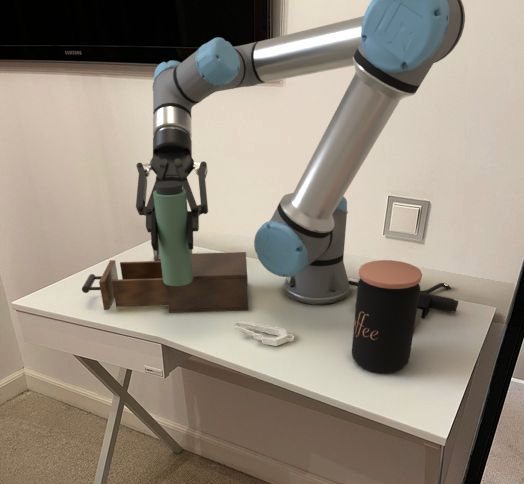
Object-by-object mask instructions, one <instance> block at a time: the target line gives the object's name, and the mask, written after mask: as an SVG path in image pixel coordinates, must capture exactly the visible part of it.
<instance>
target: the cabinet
mask: <svg viewBox="0 0 524 484" xmlns="http://www.w3.org/2000/svg"><path fill="white" fill-rule="evenodd" d="M191 258H192V270H193V281H192V282H191V283H189V284H187V285H183V286H169V285H166V291H167V300H168V306H167V307H168V313H169V314H177V313H211V312H238V311H239V312H241V311H249V289H248V288H249V285H248V282H249V281H248V264H247V252H246V251H242V252H241V251H236V252H235V251H234V252H233V251H232V252H230V251H229V252H199V253H198V252H197V253H195V252H193V253H192V254H191Z"/></svg>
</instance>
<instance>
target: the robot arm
mask: <svg viewBox="0 0 524 484" xmlns="http://www.w3.org/2000/svg"><path fill="white" fill-rule="evenodd" d="M465 23H466V13H465V5H464V4H463V1H462V0H371V1H370V3H369V4H368V6H367V8H366V9H365V12H364V15H362V16H358V17H353V18H350V19H345V20H341V21H338V22H333V23H330V24H326V25H321V26H317V27H313V28H309V29H305V30H301V31H296V32H293V33H289V34H284V35H281V36H276V37H273V38H268V39H264V40H260V41H255V42H251V43H247V44H241V45H236V46H233V45H232V44H231V42H229V41H227V40H225V38H223V37H214V38H213V39H211V40H209V41H208V42H204V44H202V45H201V46H199V47H198V49H197V50H196V51H195V52H193V53H192V54H191V55H189V56H188V57H187V58H186V59H184V60H183V61H182V62H181V61H178V60H169V61H162V62H161V63H159V64H158V65H157V66H156V68H155V70H154V74H153V82H152V84H153V85H152V104H153V105H152V106H153V107H152V113H153V114H152V115H153V116H152V136H153V137H152V158H151V159H150V161H149V162H147V163H144V164H143V163H142V162H137V163H136V165H135V166H136V170H137V172H138V173H137V174H138V177H137V189H136V200H135V201H136V202H135V208H136V211H137V213H138V215H139V216H145V228H146V231H147V233H150V245H151V247H152V251H153V250H158V232H157V223H156V214H155V205H154V197H153V192H154V191H155V190H156V184H157V183H159V182H163V181H179V182H181V183H182V188H183V189H185V190H186V197H187V205H188V206H189V209H190V210H188V246H189V249H192V250H194V232H199V230H200V216H201V215H203V214H204V215H207V214H208V213H209V208H208V207H209V204H208V194H207V183H206V178H207V175H208V164H207V161H201V162H197V161H195V160H194V159H193V148H192V147H193V142H192V141H193V140H192V133H193V132H192V108H193V107H194V106H196V105H198V104H200V103H201V102H202V101H203V100H205V99H207V98H208V97H210V96H211V95H213V94H214V93H217V92H222V91H227V90H234V89H240V88H247V87H254V86H257V85H261V84H265V83H269V82H275V81H276V82H277V81H280V80H286V79H292V78H296V77H301V76H302V77H303V76H307V75H312V74H318V73H324V72H328V71H334V70H338V69H343V68H349V67H354V70H355V71H354V72H355V73H354V75H353V77H352V79H351V81H350V82H349V85H348V86H347V88H346V90H345V92H344V94H343V95H342V98H341V100H340V102H339V104H338V105H337V108H336V110H334V111H335V112H334V113H333V115H332V117H331V119H330V121H329V123H328V125H327V127H326V128H325V131H324V133H323V134H322V136H321V138H320V141H319V142H318V144H317V147H316V149H315V150H314V151H313V154H312V156H311V157H310V160H309V162H308V163H307V165H306V168H305V169H304V171H303V174H302V175H301V177H300V179H299V181H298V182H297V185H296V187H295V189H294V191H293V192H291V193H287V194H284V195H283V196H282V198H281V199H280V200H279V203H278V204H277V207H276V209H275V210H274V213H272V214H273V215H272V217H271V218H270V220H269V221H266V222H264V223H263V224H262V225H261V226H260V227H259V228H258V229H257V231H256V233H255V235H254V241H253V243H254V245H253V246H254V252H255V253H256V255H257V259H258V261H259V262H260V264H261V265H262V266H263V267H264V268H265V270H267V271H268V272H269V273H271V274H273V275H275V276H277V277H281V278H285V280H284V293H285V295H287V297H288V298H290V299H291V300H294V301H296V302H299V303H302V304H307V305H329V304H334V303H338V302H340V301H343V300H345V298H347V297H348V295H349V293H350V286H353V287H357V285H358V282H357V281H354V280H349V277H348V274H347V269H346V266H345V263H344V262H345V261H344V258H345V257H344V255H345V243H346V229H347V218H348V216H347V215H348V213H349V211H348V201H347V198H346V197H345V194H346V192H347V191H348V189H349V188H350V186H351V184H352V182H353V181H354V179H355V177H356V176H357V174H358V172H359V171H360V169H361V167H362V165H363V164H364V163H365V161H366V159H367V157H368V155H369V154H370V152H371V150H372V148H373V147H374V145H375V144H376V142H377V140H378V138H379V137H380V136H381V133H382V132H383V130H384V128H385V127H386V125H387V124H388V121H389V120H390V118H391V116H392V115H393V113H394V111H395V110H396V108H397V107H398V105H399V103H400V101H401V100H403V99H405V98H408V97H411V96H414V95H416V93H417V91H418V89H419V88H420V86H421V85H422V84H423V82H424V80H425V79H426V76H427V75H428V73H429V72H430V70H431V68H433V65H434V64H435V63H438V62H440V61H441V60H444V59H445V58H446V57H447V56H448V55H450V54H451V52H453V51H454V49H455V48H456V47H457V45H458V44H459V41H460V40H461V38H462V35H463V32H464V29H465ZM193 170H194V171H195V175H197V177H198V188H199V189H198V190H199V198H200V199H199V201H200V204H197V202H196V198H195V196H194V193H193V191H192V188H191V186H190V183H189V180H188V177H189V175H191V173H192V172H193ZM151 171H153V172H154V174H155V181H154V184H153V187H152V190H151V193H150V195H149V198H148V201H147V190H148V177H150V174H151ZM146 201H147V204H146ZM444 283H445V282H440V283H437V284H435V285H434V286H432V287H430V288H428V289H424V290H420V292H423V293H428V294H432V293H433V292H435V291H437V290H438V289H440V288H444V289H446V290H452V286H450V285H449V284H448V286H445V285H444Z"/></svg>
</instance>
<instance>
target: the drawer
mask: <svg viewBox="0 0 524 484" xmlns="http://www.w3.org/2000/svg"><path fill="white" fill-rule="evenodd" d="M119 266H120V273H121V279H119V276H118V268H117V261H116V260H115V259H114V260H111V259H110V260H109V262H108V264H107V266H106V268H105V270H104V272H103V273H102V275H95V274H94V273H91V274H89V275H88V277H87V278H86V280H85V282H84V284H83V285H82V287H81V291H82V292H83V293H85V294H88V293H90V291H100V295H101V300H102V306H103V310H104V311H110V310H111V307H112V305H113V303H115V308H131V307H132V308H133V307H136V308H137V307H162V306H165V307H166V306H167V307H168V300H167V291H166V284H165V283H164V282H163V276H162V267H161V261H154V260H145V261H144V260H143V261H141V260H140V261H120V263H119ZM96 280H99V281H98V284H99V286H93V284H94V283H95V281H96Z"/></svg>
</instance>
